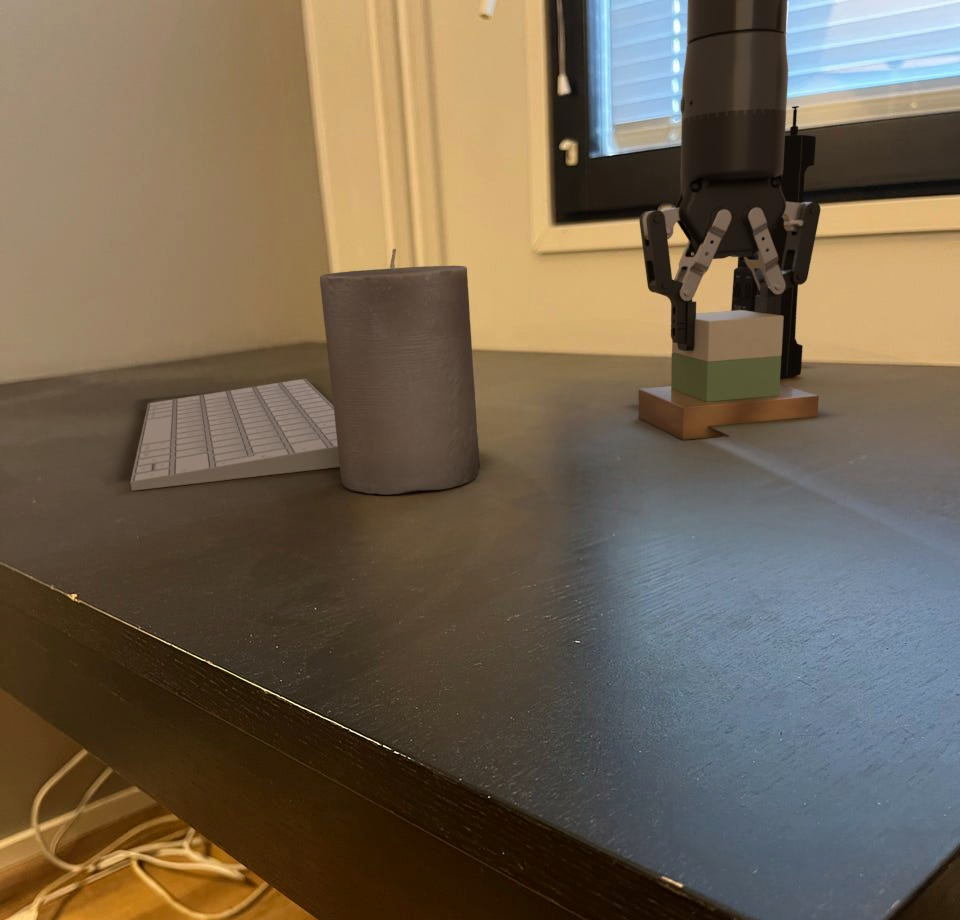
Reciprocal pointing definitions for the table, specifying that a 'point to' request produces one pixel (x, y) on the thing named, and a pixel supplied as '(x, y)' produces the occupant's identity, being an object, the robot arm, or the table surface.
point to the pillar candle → (402, 377)
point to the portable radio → (781, 249)
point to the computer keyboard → (236, 435)
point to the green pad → (726, 378)
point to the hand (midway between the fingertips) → (725, 346)
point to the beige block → (735, 336)
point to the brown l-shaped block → (718, 410)
